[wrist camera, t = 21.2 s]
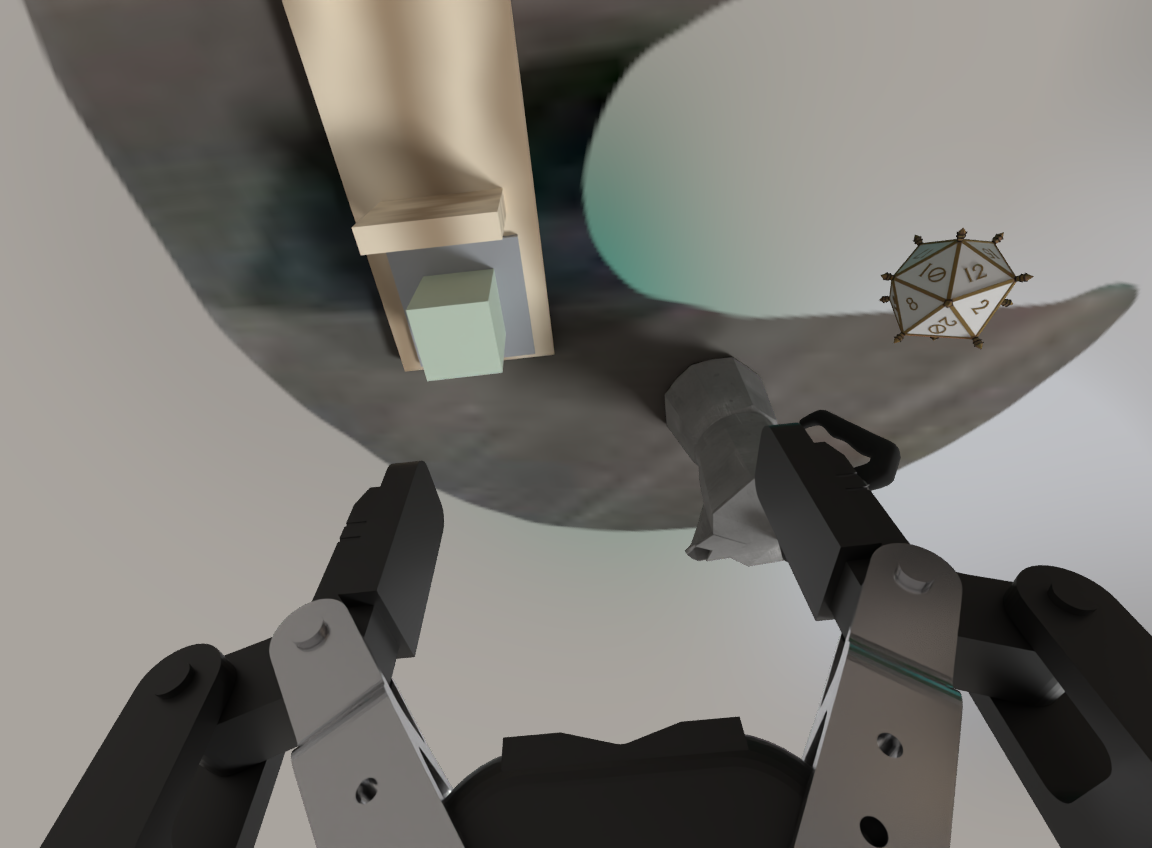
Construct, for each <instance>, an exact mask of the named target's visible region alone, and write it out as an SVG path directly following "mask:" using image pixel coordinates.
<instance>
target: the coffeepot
mask: <svg viewBox="0 0 1152 848" xmlns="http://www.w3.org/2000/svg"><path fill="white" fill-rule="evenodd" d="M665 411H666V421H667V427H668V428H669V429H670V431H671V432H672V433H673V435H674V436H675V438H676V439H677V440H678V442H679V443H680V444H681V446H682V447H683V449H684V450H685V451H686V453H687V454H688V455H689V457H690V458H691V459H692V461H693V462H694V463H695V464H697V465H698V466H699V481H700V487H701V492H702V497H703V502H704V504H703V508H702V511H701V515H700V518H699V522H698V525H697V528H696V531H695V534H694V537H693V540H692V543H691V545H690V546H689V547H688V548H687V549H686V550H685V552H686V553H687V555H688V556H690V557H691V558H693V559H695V560H697V561H701V560H706V561H712V560H718V559H725V558H732V559H734V560H736V561H738V562H740V563H742V564H744V565H746V566H753V565H760V564H766V563H772V562H778V561H783V560H785V561H787V559H786V557H785V555H784V552H783V550H782V548H781V546H780V544H779V542H778V540H777V537H776V535H775V533H774V531H773V529H772V527H771V525H770V523H769V520H768V518H767V516H766V514H765V512H764V510H763V508H762V506H761V503H760V501H759V499H758V496H757V492H756V487H755V470H756V463H757V457H758V451H759V444H760V438H761V432H762V429H763V427H764V426H768V425H777V419H776V417H775V414H774V411H773V409H772V406H771V403H770V401H769V398H768V395H767V393H766V390H765V387H764V385H763V382H762V379H761V377H760V376H759V375H757V374H756V373H754V372H753V371H752V370H751V369H749V368H748V367H747V366H746V365H744V364H742V363H740V362H739V361H737V360H736V359H735V358H733V357H730V358H720V359H710V360H707V361H703V362H700V363H698V364H693V365H691V366H690V367H689V368H687V369H686V370H685V371H684V372H683V373H682V374H681V375H680V376H679V377H678V378H677V379H676V380H675V381H674V383H673V384H672V385H671V387H670V389H669V390H668V391H667V392H666V393H665ZM799 423H800V424H801V425H802V426H803V428H804V429H805V428H808V427H812V426H816V425H820V426H822V427H824V428H825V429H826V430H827V432H828V433H829V434H830V435H831V436H832V437H834V438H837V439H840V440H842V441H845V442H846V443H848V444H849V445H850V446H851V447H852V448H853V449H855V450H856V451H857V452H859V453H860V454H862V455H864V456H867V457H869V458H871V459H870V462H868V463H867V464H864V465H861V466H858V467H855V468H854V469H855V470H856V472H857V476H860V477H861V478H862V480H863V481H864V483H865V484H866V485H867V489H868V490H870V491H872V490H875V489H879V488H882V487H885V486H887V485H889V484H890V483H892V482H893V480H894V478H895V475H896V471H897V468H898V465H899V461H900V451H899V448H898V447H897V446H896V445H895V444H894V443H892V442H891V441H889V440H887V439H884V438H882V437H880V436H878V435H875V434H873V433H871V432H869V431H867V430H865V429H863V428H861V427H859V426H857V425H855V424H853V423H851V422H849V421H846V420H844V419H843V418H841V417H839V416H837V415H834V414H832V413H830V412H828V411H826V410H818V411H815V412H813V413H811V414H809V415H807V416H806V417H804V418H802V419H801V420H800V422H799ZM787 562H788V561H787Z"/></svg>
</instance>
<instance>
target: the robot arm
mask: <svg viewBox="0 0 1152 848" xmlns="http://www.w3.org/2000/svg"><path fill="white" fill-rule="evenodd" d="M755 487H756V492H757V496H758V499H759V501H760V503H761V506H762V508H763V510H764V512H765V514H766V516H767V518H768V520H769V523H770V525H771V527H772V529H773V531H774V533H775V535H776V537H777V540H778V542H779V544H780V546H781V548H782V550H783V552H784V555H785V557H786V559H787V561H788V563H789V565H790V567H791V569H792V571H793V574H794V576H795V578H796V580H797V582H798V584H799V586H800V588H801V591H802V593H803V595H804V597H805V599H806V601H807V603H808V606H809V608H810V610H811V612H812V614H813V616H814V618H815V620H816V621H822V620H832V619H835V620H836V622H837V624H838V626H839V628H840V630H841V634H840V637H839V639H838V643H837V646H836V649H835V653H834V656H833V660H832V663H831V666H830V670H829V673H828V677H827V680H826V683H825V687H824V690H823V693H822V697H821V700H820V704H819V707H818V710H817V714H816V717H815V720H814V723H813V726H812V729H811V732H810V734H809V737H808V740H807V743H806V746H805V749H804V753H803V756H802V759H800V758H799V757H797V756H795V755H794V754H792V753H791V752H789V751H787V750H786V749H784V748H782V747H780V746H778V745H776V744H773V743H771V742H769V741H766V740H763V739H760V738H757V737H754V736H750V735H745V734H744V731H743V728H742V724H741V720H740V717H730V718H719V719H707V720H697V721H685V722H679V723H677V724H674V725H672V726H669V727H667V728H664V729H662V730H660V731H657V732H654V733H652V734H649V735H647V736H644V737H642V738H639V739H637V740H634V741H632V742H629V743H626V744H614V743H609V742H604V741H599V740H594V739H590V738H584V737H580V736H575V735H570V734H565V733H550V734H539V735H528V736H517V737H505V738H503V747H502V756H500V757H498V758H495V759H493V760H491V761H489V762H488V763H486V764H484V765H482V766H480V767H479V768H478V769H476V770H475V771H474V772H472V773H471V774H469V775H468V776H467V777H466V778H465V779H464V780H463V781H461V782H460V783H459V784H458V785H457V786H456V787H455V788H454V789H453V788H452V786H451V784H450V783H449V781H448V779H447V777H446V775H445V774H444V772H443V770H442V768H441V767H440V765H439V763H438V762H437V760H436V758H435V757H434V755H433V753H432V751H431V749H430V748H429V746H428V744H427V742H426V740H425V738H424V736H423V734H422V733H421V731H420V729H419V727H418V725H417V723H416V721H415V719H414V717H413V716H412V713H411V711H410V710H409V708H408V706H407V704H406V702H405V700H404V698H403V696H402V694H401V693H400V691H399V689H398V687H397V685H396V683H395V681H394V679H393V678H392V674H393V669H394V666H395V662H396V659H398V658H409V657H415V652H416V649H417V644H418V640H419V635H420V631H421V626H422V622H423V618H424V613H425V609H426V604H427V600H428V596H429V591H430V587H431V582H432V578H433V573H434V569H435V565H436V560H437V556H438V551H439V547H440V542H441V537H442V533H443V528H444V514H443V508H442V505H441V502H440V499H439V497H438V494H437V491H436V488H435V486H434V483H433V480H432V478H431V475H430V472H429V470H428V467H427V465H426V463H425V462H424V461H415V462H405V463H395V464H391V465H389V467H388V469H387V471H386V473H385V476H384V479H383V481H382V484H381V486H380V487H372V488H369V490H367V491H366V493H365V494H364V495H363V496H362V497H361V498H360V499H359V500H358V501H357V502H356V503H355V505H354V506H353V509H352V511H351V513H350V516H349V518H348V520H347V523H346V524H347V526H346V527H344V529H343V532H342V534H341V536H340V542H338V543H337V546H336V548H335V550H334V553H333V555H332V557H331V559H330V562H329V564H328V566H327V568H326V571H325V573H324V575H323V577H322V580H321V582H320V584H319V587H318V589H317V591H316V593H315V596H314V598H313V600H312V602H310V603H308V604H305V605H303V606H302V607H300V608H298V609H297V610H295V611H294V612H293V613H291V614H290V615H289V616H288V617H287V618H286V619H285V620H284V621H283V622H282V623H281V625H279V627H278V628H277V630H276V631H275V633H274V635H273V637H271V638H269V639H267V640H264V641H261V642H259V643H256V644H253V645H251V646H248V647H246V648H243V649H241V650H238V651H235V652H233V653H230V654H227V655H225V656H224V655H223V654H222V653H221V652H220V651H219V650H218V649H217V648H215V647H214V646H212V645H209V644H195V645H191V646H188V647H185V648H182V649H180V650H178V651H176V652H174V653H173V654H171V655H169V656H167V657H166V658H164V659H163V660H162V661H160V662H159V663H158V664H157V665H155V666H154V667H153V668H152V669H151V670H150V671H149V672H148V673H147V674H146V675H145V676H144V678H143V679H142V680H141V681H140V683H139V684H138V686H137V687H136V689H135V690H134V692H133V694H132V695H131V697H130V699H129V700H128V702H127V704H126V705H125V707H124V709H123V710H122V712H121V714H120V715H119V717H118V719H117V720H116V722H115V723H114V725H113V727H112V729H111V730H110V732H109V733H108V735H107V737H106V739H105V740H104V742H103V744H102V745H101V747H100V749H99V750H98V752H97V753H96V755H95V757H94V758H93V760H92V762H91V763H90V765H89V767H88V768H87V770H86V772H85V774H84V775H83V777H82V779H81V780H80V782H79V783H78V785H77V787H76V788H75V790H74V792H73V794H72V795H71V797H70V798H69V800H68V802H67V804H66V805H65V807H64V808H63V810H62V812H61V813H60V815H59V817H58V818H57V820H56V822H55V823H54V825H53V827H52V828H51V830H50V832H49V833H48V835H47V837H46V838H45V840H44V842H43V843H42V845H41V847H40V848H254V845H255V842H256V839H257V836H258V833H259V830H260V827H261V824H262V821H263V818H264V815H265V812H266V809H267V806H268V803H269V799H270V796H271V794H272V791H273V788H274V784H275V781H276V778H277V775H278V772H279V769H280V766H281V763H282V760H283V757H284V754H285V752H286V751H288V750H290V749H292V748H295V747H297V746H298V747H297V748H296V749H294V750H293V751H292V753H291V759H292V766H293V770H294V774H295V777H296V780H297V783H298V787H299V790H300V793H301V797H302V800H303V804H304V807H305V810H306V813H307V817H308V820H309V823H310V827H311V830H312V833H313V837H314V840H315V843H316V847H317V848H950V840H951V829H952V818H953V807H954V796H955V786H956V775H957V764H958V753H959V743H960V731H961V721H962V708H963V704H962V703H963V702H962V696H961V693H960V692H959V691H958V690H962V691H967V692H969V694H970V696H971V697H972V699H973V701H974V702H975V704H976V706H977V707H978V709H979V711H980V712H981V714H982V716H983V717H984V719H985V721H986V723H987V724H988V726H989V728H990V729H991V731H992V733H993V734H994V736H995V737H996V739H997V741H998V743H999V744H1000V746H1001V748H1002V750H1003V751H1004V752H1005V755H1006V756H1007V758H1008V760H1009V761H1010V763H1011V764H1012V766H1013V768H1014V770H1015V771H1016V773H1017V775H1018V776H1019V778H1020V780H1021V781H1022V783H1023V785H1024V787H1025V788H1026V790H1027V792H1028V793H1029V795H1030V797H1031V798H1032V800H1033V802H1034V803H1035V805H1036V807H1037V808H1038V810H1039V812H1040V814H1041V815H1042V817H1043V818H1044V820H1045V822H1046V824H1047V825H1048V827H1049V829H1050V830H1051V832H1052V834H1053V835H1054V837H1055V839H1056V840H1057V842H1058V844H1059V846H1060V847H1061V848H1152V636H1151V635H1150V634H1149V633H1148V632H1147V631H1146V630H1145V629H1144V628H1143V627H1142V625H1141V624H1139V623H1138V622H1137V620H1136V619H1135V618H1134V617H1133V616H1132V615H1131V614H1130V613H1129V612H1128V611H1127V610H1126V609H1125V608H1124V607H1123V606H1122V605H1121V604H1120V603H1119V602H1118V601H1117V600H1116V599H1115V598H1114V597H1113V596H1112V595H1111V594H1110V593H1109V592H1108V591H1106V590H1105V589H1104V588H1103V587H1101V586H1100V585H1098V584H1096V583H1095V582H1093V581H1091V580H1090V579H1088V578H1086V577H1084V576H1082V575H1080V574H1077V573H1075V572H1072V571H1069V570H1066V569H1063V568H1059V567H1054V566H1042V565H1038V566H1031V567H1028V568H1026V569H1024V570H1022V571H1021V572H1020V573H1019V575H1018V576H1017V577H1016V579H1015V580H1014V582H1008V581H1003V580H997V579H991V578H985V577H979V576H973V575H967V574H962V573H958V572H955V570H954V569H953V568H952V567H951V566H950V565H949V564H948V563H947V562H946V561H945V560H943V559H942V558H941V557H939V556H938V555H936V554H935V553H933V552H931V551H929V550H926V549H924V548H921V547H918V546H915V545H911V544H910V543H909V542H908V541H907V540H906V538H905V537H904V536H903V534H902V533H901V532H900V530H899V529H898V527H897V526H896V525H895V523H894V522H893V521H892V519H891V518H890V517H889V515H888V514H887V512H886V511H885V510H884V508H883V507H882V506H881V504H880V503H879V502H878V500H877V499H876V498H875V496H874V495H873V494H872V492H871V491H870V490H868V489H867V485H866V484H865V483H864V481H863V480H862V478H861V477H860V476H857V472H856V470H855V469H854V468H853V466H852V465H851V464H850V462H849V461H848V459H847V458H846V457H845V455H843V454H842V453H840V452H839V451H837V450H836V449H834V448H833V447H831V446H830V445H829V444H827V443H826V442H818V443H814V442H813V441H812V439H811V438H810V436H809V435H808V434H807V432H806V431H805V429H804V428H803V426H802V425H801V424H800V423H787V424H778V425H768V426H764V427H763V429H762V432H761V438H760V444H759V451H758V457H757V463H756V470H755ZM956 689H958V690H956Z"/></svg>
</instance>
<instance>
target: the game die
mask: <svg viewBox="0 0 1152 848" xmlns="http://www.w3.org/2000/svg"><path fill="white" fill-rule="evenodd" d="M966 233H967V232H966V231H965V229H964V228H962V229H961V230H960V231H959V232H957V235H956V237H957V239H953V240H945V241H937V242H928V243H923V242H922V240H923V239H921V236H917V235H915V237H914V242H915V244H917V245H918V247H917V248H916V249H915V250H914V251H913V253H912V254H911V255H910V256H909V258H908V259H907V260H906V261H905V262H904V263H903V265H902V266H901V267H900V268H899V269H898V271H897V272H896V273H895V274H894V275H891V273H890V274H889V273H888V272H887V273H885V274H883V275H881V277H882V278H883V280H891V288H890V296H882V298H881V299H880V301H882V302H883V303H885V302H888V301H890V303H891V305H892V308H893V311H894V314H895V317H896V319H897V322H898V325H899V328H900V330H901V333H900V334H897V336H896V337H894V338H895V339H894V343H897V342H901V340H902V339H903V338H904V336H905V335H909V336H926V337H930V338H932V340H933V341H934V340H935V339H938V338H939V337H943V338H960V339H972V340H973V344H974V347H977V348H980V349H982V345H983V343H984V342H982V341H981V340H982V339H979V338H978V336H979V334H980V333H981V332H982V330H983V329H984V327H985V326H986V325H987V323H988V322H989V320H990V319H991V318H992V316H993V315H994V313H995V312H996V311H997V309H998V308H999V306H1000V305H1002V306H1005V307H1007V306H1009V305H1012V304H1013V303H1012V301H1011V300H1008V299H1005V298H1006V296H1007V295H1008V293H1009V292H1010V290H1011V289H1012V287H1013V286H1014V285H1015V283H1016V282H1017V281H1019V282H1023V281H1024V282H1027V281H1028V280H1029V279H1031V278H1032V277H1033V276H1031V275H1028V274H1027V273H1025V274H1021V275H1019V276H1015V274H1014V273H1013V271H1012V269H1011V268H1010V266H1009V265H1008V263H1007V262H1006V260H1005V259H1004V257H1003V255H1002V254H1001V253H1000V251H999V249H998V248H997V246H996V243H998V242H1001V240H1002V239H1003V234H1004V233H1000V234H996V235H995V237H993V240H992V241H991V242H990V241H979V240H969V239H964V238H965V237H966Z"/></svg>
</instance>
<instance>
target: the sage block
mask: <svg viewBox="0 0 1152 848" xmlns="http://www.w3.org/2000/svg"><path fill="white" fill-rule="evenodd" d="M406 313H407V316H408V319H409V322H410V326H411V329H412V332H413V335H414V339H415V342H416V345H417V349H418V352H419V355H420V358H421V362H422V365H423V368H424V371H425V375H426V378H427V381H433V380H442V379H451V378H460V377H468V376H477V375H486V374H495V373H502V372H503V360H504V349H505V338H506V331H505V326H504V320H503V315H502V310H501V304H500V299H499V293H498V288H497V283H496V277H495V272H494V269H486V270H477V271H468V272H459V273H450V274H441V275H432V276H423V278H422V280H421V281H420V283H419V285H418V287H417V289H416V291H415V293H414V295H413V297H412V299H411V301H410V303H409V305H408V307H407V309H406Z"/></svg>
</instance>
